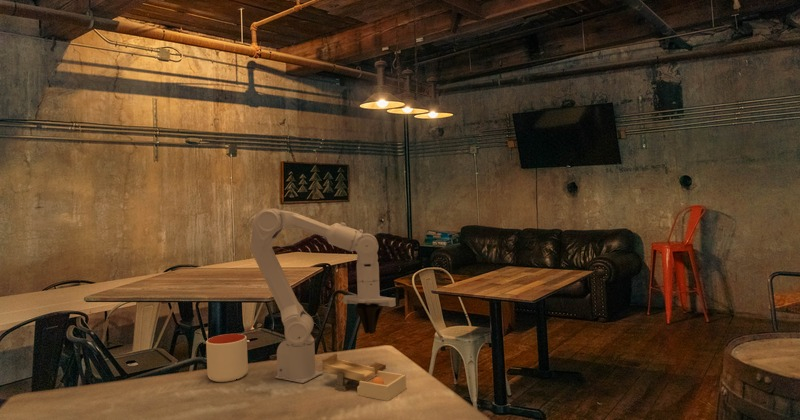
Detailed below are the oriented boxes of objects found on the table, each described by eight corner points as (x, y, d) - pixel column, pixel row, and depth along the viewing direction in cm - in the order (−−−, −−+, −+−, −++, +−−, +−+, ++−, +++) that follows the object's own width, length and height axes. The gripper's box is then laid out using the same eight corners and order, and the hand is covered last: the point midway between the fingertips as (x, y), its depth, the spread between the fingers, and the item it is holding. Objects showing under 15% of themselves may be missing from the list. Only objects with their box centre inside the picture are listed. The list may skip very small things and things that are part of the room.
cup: (235, 384, 126) (234, 344, 126) (199, 382, 128) (198, 343, 128) (255, 370, 136) (253, 333, 136) (221, 369, 138) (219, 333, 138)
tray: (357, 395, 116) (357, 381, 116) (376, 383, 124) (376, 370, 123) (388, 400, 112) (387, 386, 112) (406, 388, 119) (405, 374, 119)
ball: (377, 378, 117) (380, 391, 116) (384, 374, 119) (387, 387, 119) (367, 379, 118) (370, 392, 118) (374, 375, 121) (377, 388, 120)
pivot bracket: (335, 389, 120) (334, 372, 120) (352, 379, 126) (351, 363, 126) (345, 391, 119) (344, 374, 119) (362, 381, 125) (361, 365, 125)
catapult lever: (322, 371, 123) (322, 359, 123) (346, 359, 132) (346, 347, 132) (363, 382, 117) (363, 369, 117) (385, 368, 126) (386, 357, 126)
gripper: (335, 281, 131) (338, 334, 131) (385, 284, 124) (387, 339, 124) (350, 277, 137) (352, 327, 137) (398, 279, 130) (400, 332, 131)
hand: (370, 332), depth 131 cm, fingers closed
